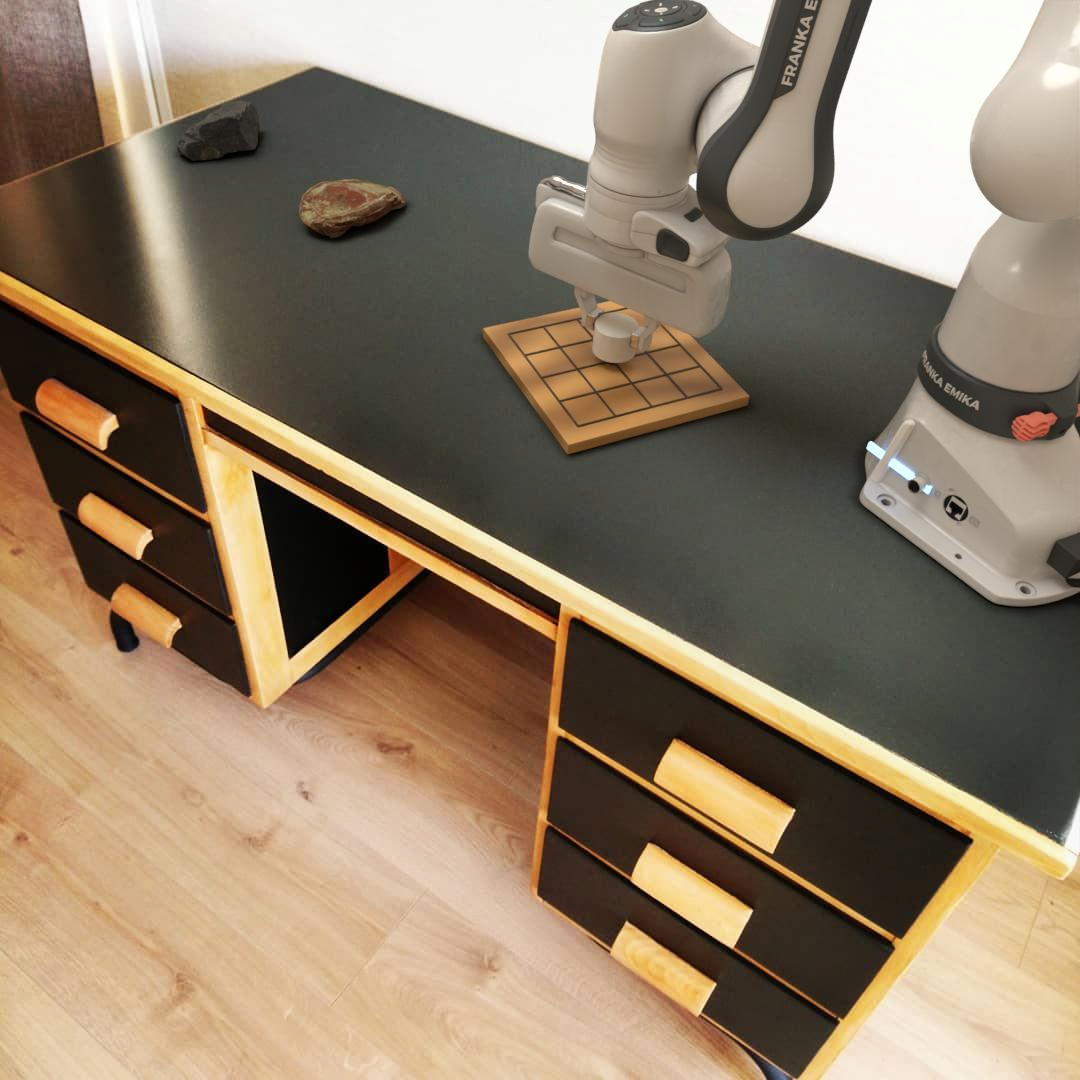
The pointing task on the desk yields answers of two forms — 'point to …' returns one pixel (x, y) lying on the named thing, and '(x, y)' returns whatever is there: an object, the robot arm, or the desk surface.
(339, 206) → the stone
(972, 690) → the desk surface
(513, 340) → the grid board
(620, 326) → the game stone
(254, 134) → the rock
